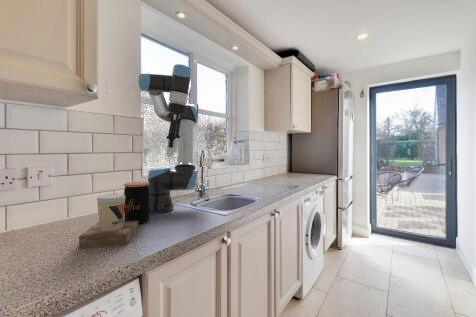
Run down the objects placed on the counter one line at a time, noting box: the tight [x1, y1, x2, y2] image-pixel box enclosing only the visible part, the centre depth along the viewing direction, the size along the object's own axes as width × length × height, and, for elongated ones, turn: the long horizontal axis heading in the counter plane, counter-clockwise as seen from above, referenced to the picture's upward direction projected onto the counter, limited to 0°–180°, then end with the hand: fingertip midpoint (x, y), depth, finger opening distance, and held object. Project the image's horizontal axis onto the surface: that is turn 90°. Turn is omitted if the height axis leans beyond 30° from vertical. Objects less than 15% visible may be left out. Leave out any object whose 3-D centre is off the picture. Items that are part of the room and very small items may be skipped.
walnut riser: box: [78, 221, 139, 249], centre depth 86 cm, size 15×15×4 cm
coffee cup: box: [96, 193, 125, 231], centre depth 85 cm, size 9×9×12 cm
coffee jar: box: [123, 181, 151, 226], centre depth 105 cm, size 11×11×18 cm
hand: (171, 153), depth 98 cm, fingers open, 13 cm apart
